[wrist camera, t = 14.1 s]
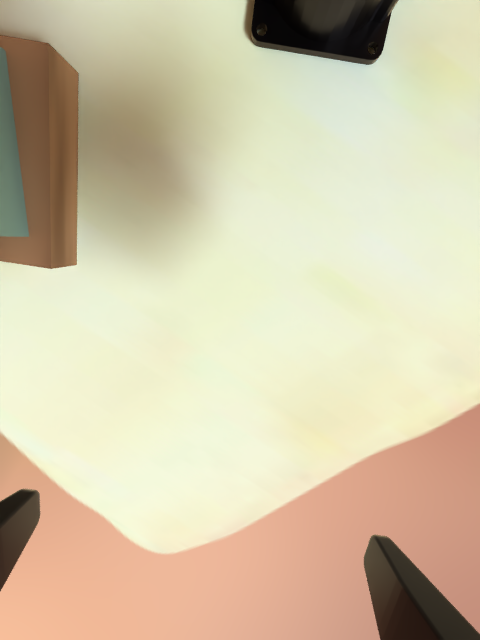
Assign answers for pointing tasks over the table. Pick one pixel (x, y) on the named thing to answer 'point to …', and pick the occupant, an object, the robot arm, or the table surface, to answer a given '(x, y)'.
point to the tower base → (44, 153)
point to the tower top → (10, 164)
